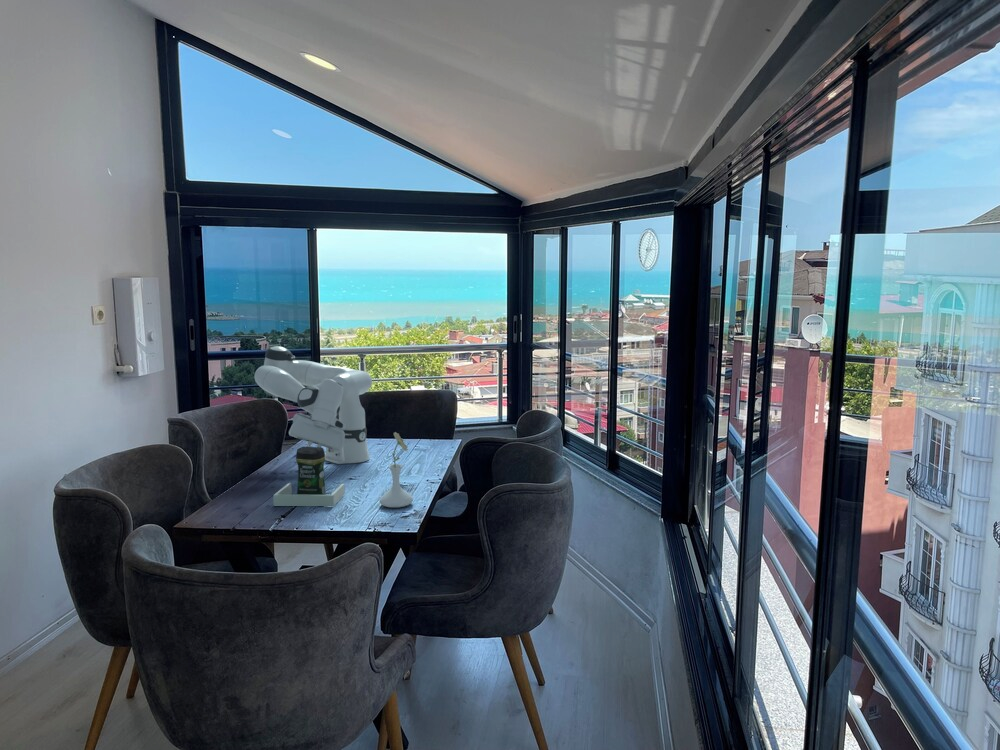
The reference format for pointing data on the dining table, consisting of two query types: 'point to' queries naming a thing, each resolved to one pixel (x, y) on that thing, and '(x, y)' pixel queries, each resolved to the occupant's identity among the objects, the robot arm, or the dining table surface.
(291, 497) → the report bay
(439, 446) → the dining table surface
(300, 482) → the coffee jar
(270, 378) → the robot arm
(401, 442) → the flower in vase
